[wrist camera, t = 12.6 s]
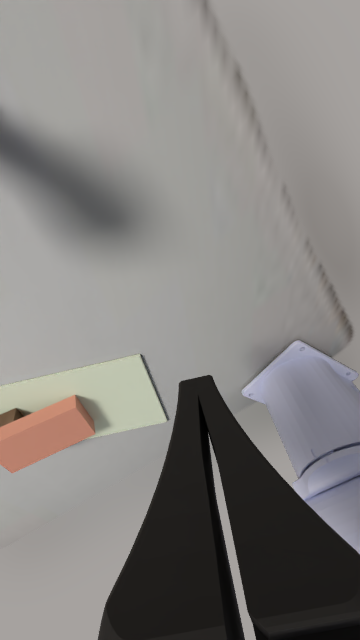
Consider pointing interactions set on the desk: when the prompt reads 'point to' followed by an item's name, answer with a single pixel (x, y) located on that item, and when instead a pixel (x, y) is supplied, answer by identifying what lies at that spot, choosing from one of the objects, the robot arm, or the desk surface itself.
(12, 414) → the domino
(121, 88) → the desk surface
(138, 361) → the runner mat
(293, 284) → the desk surface
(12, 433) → the domino
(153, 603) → the robot arm
